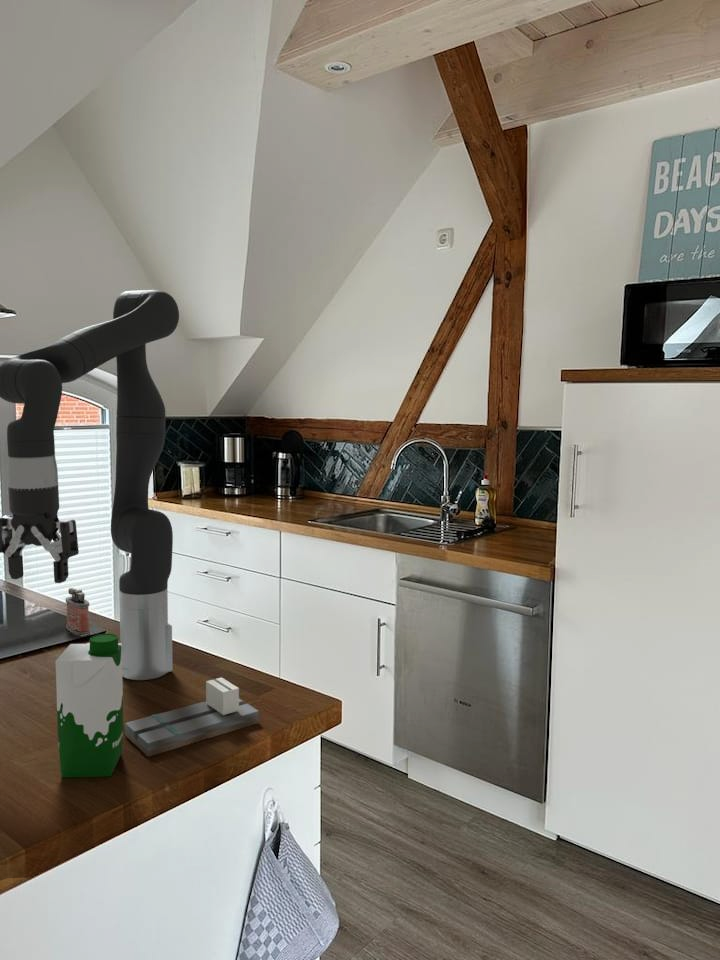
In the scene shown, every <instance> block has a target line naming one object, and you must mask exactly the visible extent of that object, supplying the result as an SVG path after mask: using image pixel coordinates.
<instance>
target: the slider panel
mask: <svg viewBox="0 0 720 960" xmlns="http://www.w3.org/2000/svg"><path fill="white" fill-rule="evenodd" d="M259 712H260V711H259V710H258V709H257V708H255V707H253V706H252V705H250V704H249V703H244V700H242V699H241V698H239V711H236V712H232V713H229V714H226V715H222V714H221V713H219V712H217V710H215V709H214V708H212V707H211V706H209V705H208V704H207V703H206V700H204V701H201V702H197V703H194V704H191V705H186V706H184V707H183V706H182V707H180V708H179V707H178V708H175V709H172V710H169V711H165V712H160V713H154V714H151V715H149V716H146V717H142V718H138V719H134V720H131V721H128V722H125V723H124V728H125V729H124V730H125V731H124V732H125V733H124V734H125V737H126V738H127V739H128V740H129V739H130V742H132V743H133V744H134V745H135V746H136V747H137V748H138V749H139V750H140V751H141V752H142V753H143V754H144V755H145V756H146V757H148V758H149V757H152V756H155V755H159V754H162V753H165V752H168V751H172V750H176V749H178V748H182V747H184V746H189V745H191V743H192V744H194V742H195V743H197V742H200V741H201V740H202V741H204V739H205V740H208V739H211V738H214V737H218V736H221V735H224V734H228V733H231V732H234V731H237V730H241V729H244V728H247V727H250V726H253V725H256V724H260V723H259V722H260V721H259V716H260V715H259ZM207 738H208V739H207Z"/></svg>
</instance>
